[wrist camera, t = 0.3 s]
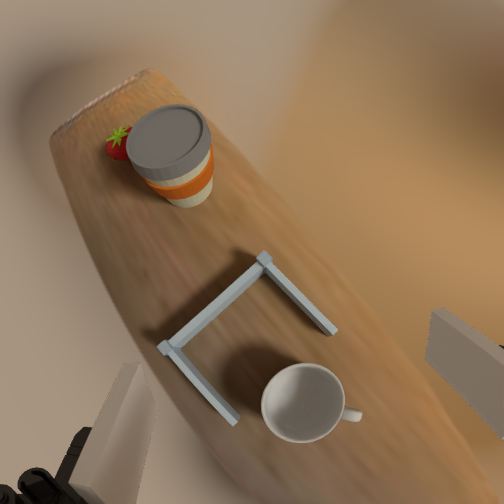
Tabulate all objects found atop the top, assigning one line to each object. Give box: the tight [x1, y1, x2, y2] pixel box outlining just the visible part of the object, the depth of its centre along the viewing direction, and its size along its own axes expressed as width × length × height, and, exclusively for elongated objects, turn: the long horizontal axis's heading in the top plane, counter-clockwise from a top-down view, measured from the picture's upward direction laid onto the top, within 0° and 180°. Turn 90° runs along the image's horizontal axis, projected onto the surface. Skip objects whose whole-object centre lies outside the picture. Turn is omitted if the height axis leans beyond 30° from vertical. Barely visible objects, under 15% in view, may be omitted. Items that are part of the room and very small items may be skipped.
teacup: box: [261, 363, 362, 443], centre depth 38 cm, size 14×11×8 cm
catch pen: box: [157, 250, 338, 426], centre depth 42 cm, size 15×21×5 cm
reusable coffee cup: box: [126, 104, 214, 208], centre depth 47 cm, size 12×13×15 cm
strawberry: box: [106, 126, 133, 160], centre depth 52 cm, size 6×8×10 cm
